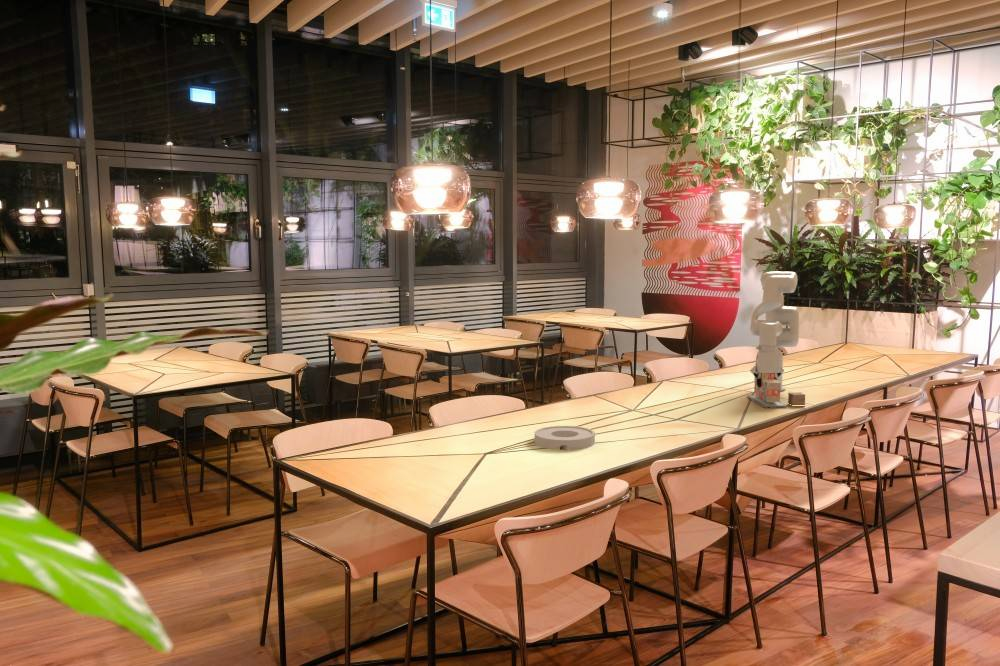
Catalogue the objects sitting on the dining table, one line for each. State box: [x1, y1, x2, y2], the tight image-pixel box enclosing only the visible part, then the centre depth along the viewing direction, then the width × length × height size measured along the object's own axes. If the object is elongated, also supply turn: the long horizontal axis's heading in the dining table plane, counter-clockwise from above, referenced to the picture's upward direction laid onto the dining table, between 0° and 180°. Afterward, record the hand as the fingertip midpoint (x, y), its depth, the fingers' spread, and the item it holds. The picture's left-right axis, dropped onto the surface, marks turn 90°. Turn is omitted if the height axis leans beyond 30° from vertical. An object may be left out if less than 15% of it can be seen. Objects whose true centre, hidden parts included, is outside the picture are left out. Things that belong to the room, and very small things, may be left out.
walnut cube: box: [787, 391, 806, 406], centre depth 356 cm, size 6×6×6 cm
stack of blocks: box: [753, 370, 781, 402], centre depth 362 cm, size 21×6×12 cm, turn 176°
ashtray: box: [533, 425, 596, 451], centre depth 296 cm, size 23×23×4 cm
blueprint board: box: [746, 394, 788, 408], centre depth 363 cm, size 25×10×1 cm, turn 0°
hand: (766, 386), depth 363 cm, fingers closed on stack of blocks, 6 cm apart
